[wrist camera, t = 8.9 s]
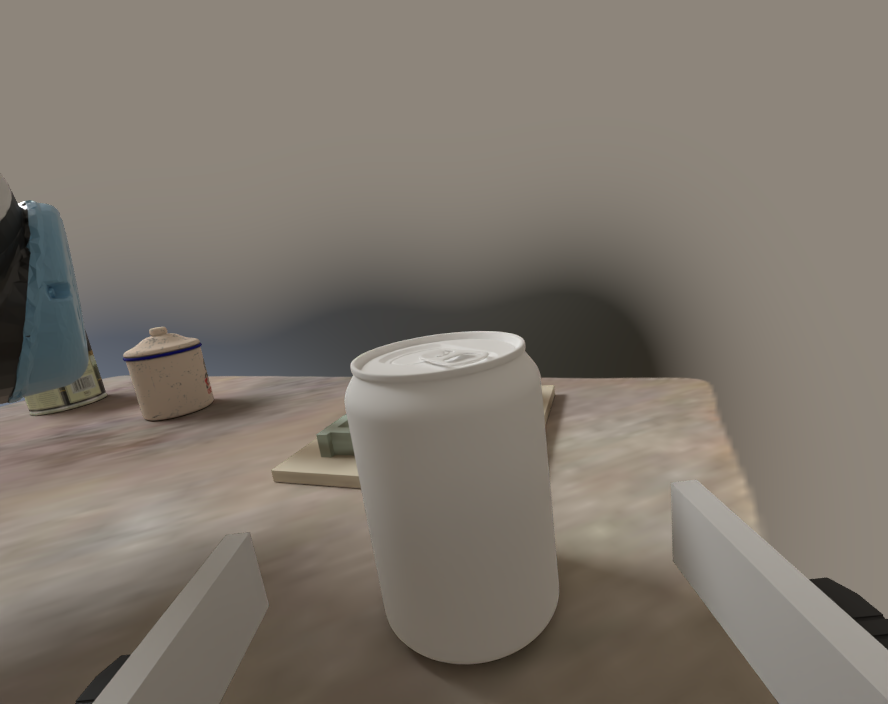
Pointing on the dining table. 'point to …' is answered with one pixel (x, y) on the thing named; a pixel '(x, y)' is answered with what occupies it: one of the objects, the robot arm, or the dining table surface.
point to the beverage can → (456, 492)
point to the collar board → (341, 455)
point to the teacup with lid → (168, 375)
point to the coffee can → (70, 392)
